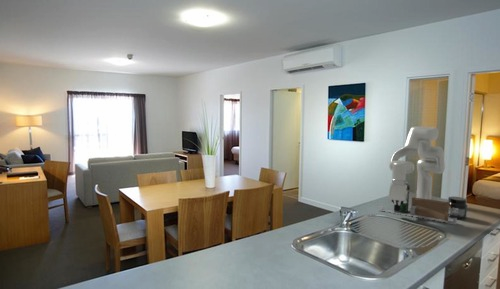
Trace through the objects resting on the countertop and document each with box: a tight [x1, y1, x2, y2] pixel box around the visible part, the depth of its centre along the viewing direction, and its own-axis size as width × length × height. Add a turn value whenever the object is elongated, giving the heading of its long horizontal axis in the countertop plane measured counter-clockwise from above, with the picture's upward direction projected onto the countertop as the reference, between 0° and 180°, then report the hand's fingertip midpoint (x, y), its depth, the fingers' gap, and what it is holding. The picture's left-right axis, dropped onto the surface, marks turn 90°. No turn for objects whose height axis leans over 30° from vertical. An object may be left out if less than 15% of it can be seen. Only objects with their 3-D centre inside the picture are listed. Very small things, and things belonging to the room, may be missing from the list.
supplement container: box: [447, 196, 468, 220], centre depth 192 cm, size 10×10×12 cm
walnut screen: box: [409, 196, 449, 221], centre depth 184 cm, size 10×20×11 cm, turn 53°
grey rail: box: [378, 204, 458, 225], centre depth 192 cm, size 3×43×3 cm, turn 53°
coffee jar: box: [393, 183, 411, 213], centre depth 203 cm, size 10×8×19 cm
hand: (397, 210), depth 192 cm, fingers closed
